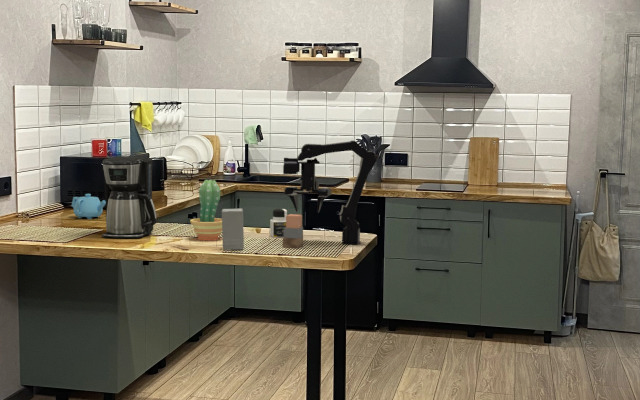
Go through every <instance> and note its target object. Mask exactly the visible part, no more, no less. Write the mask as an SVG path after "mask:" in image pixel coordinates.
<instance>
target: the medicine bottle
mask: <svg viewBox="0 0 640 400" xmlns="http://www.w3.org/2000/svg"><path fill="white" fill-rule="evenodd" d="M286 215H288V210H287V209H285V208H275V209H273V210H272V219H270V220H269V222H270V223H269V224H270V225H269V236H270V237H272V238H273V239H274V238H275V239H278V238H280V239H283V238H284V228H285V227H286Z"/></svg>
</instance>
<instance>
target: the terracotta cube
mask: <svg viewBox="0 0 640 400" xmlns="http://www.w3.org/2000/svg"><path fill="white" fill-rule="evenodd" d="M301 227H303V215H302V214H295V213H294V214H293V213H290V214H287V215H286V228H296V229H298V228H301Z"/></svg>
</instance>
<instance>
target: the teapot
mask: <svg viewBox="0 0 640 400" xmlns="http://www.w3.org/2000/svg"><path fill="white" fill-rule="evenodd" d="M91 195H92V194H91V193H84V196H73V197H72V201H71V207H72V208H73V214H74V215H75V217H77V219H78V218H81V219H83V217H84V218H86V220H92V219H93V218H94V217H99V216H101V215H102V214H103V212H104V211H103V210H104V209H103V208H104V207H106V199H103V200H102V201H100V200H101V199H99V197H98V196H91Z"/></svg>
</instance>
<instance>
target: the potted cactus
mask: <svg viewBox="0 0 640 400" xmlns="http://www.w3.org/2000/svg"><path fill="white" fill-rule="evenodd" d="M198 200H199V203H200V204H199V205H200V210H199V212H200V213H199V217H198V218H192V219H190V225H191V226H192V227H193V230H194V233H195V234H196V235H197V240H198V239H199V240H198V241H205V240H206V241H207V240H208V241H217V240H219V236H220V235H221V233H222V218H218V217H217V218H216V213H217V208H218V205H219V202H220V200H221V187H220V186H219V185H218V183H217V181H216V179H214V180H212V179H209V180H208V179H205V180H204V181H203V182H202V184H201V185H200V186H199V188H198Z"/></svg>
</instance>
